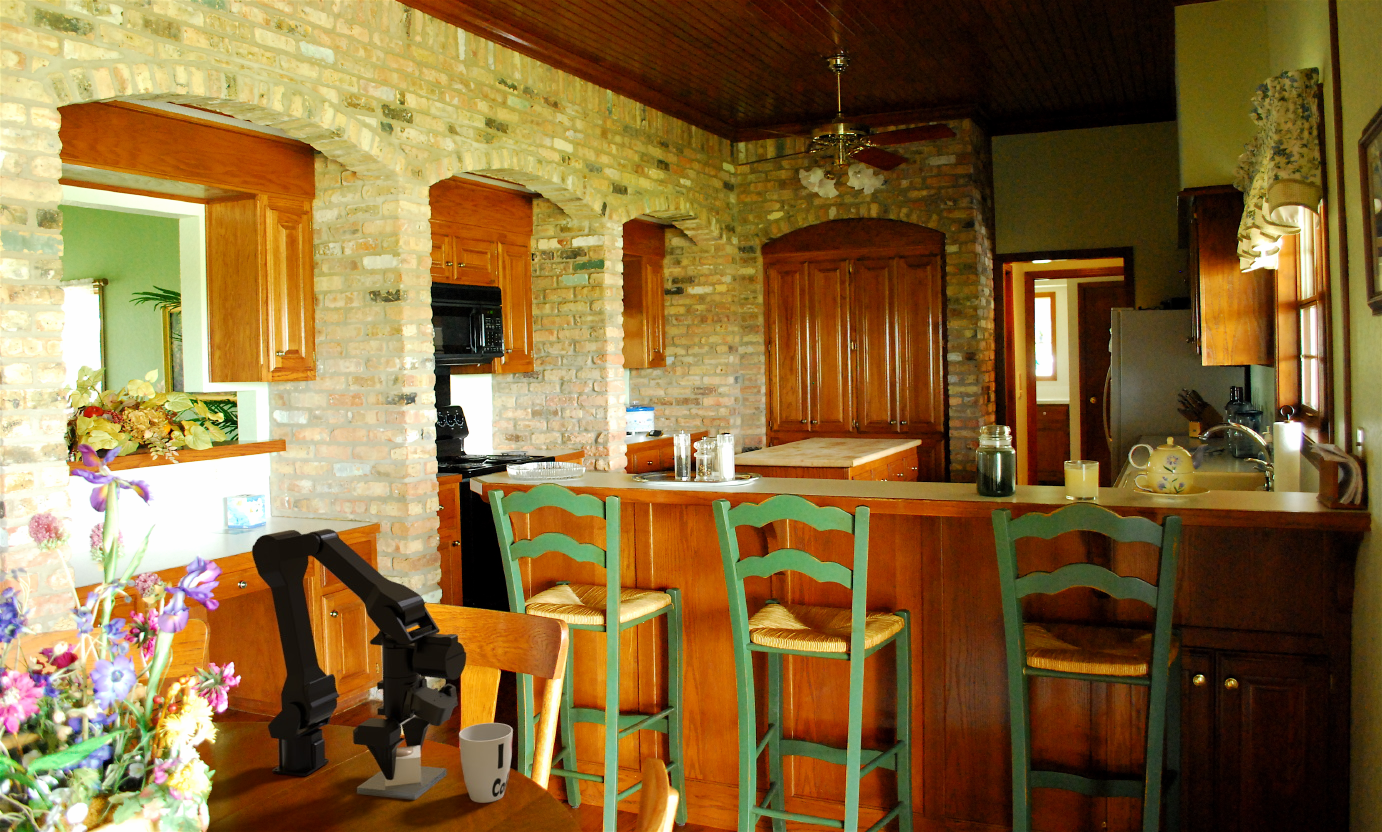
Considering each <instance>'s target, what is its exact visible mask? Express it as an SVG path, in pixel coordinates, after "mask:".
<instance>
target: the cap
mask: <svg viewBox="0 0 1382 832" xmlns="http://www.w3.org/2000/svg"><path fill="white" fill-rule="evenodd" d="M421 753H422V750H421V751H420V745H417V746H408V747H407V746H401V747H400V746H398V747H397V753H396V764H395V773H394V779H393V780H387V779H386V778H385V786H393V785H402V784H411V783H420V782H421V766H422V761H421V757H422V754H421Z"/></svg>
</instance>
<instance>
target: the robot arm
mask: <svg viewBox="0 0 1382 832" xmlns="http://www.w3.org/2000/svg"><path fill="white" fill-rule="evenodd" d="M251 548H252V549H251V555H252V559H253V563H254V565H255V568H256V571H257V573H258V576H259V577H260V578H261V579H262V580H263V581H264V583H265V584H266V585H267V586H268V587H269V588H270V590H271V595H272V601H273V606H274V611H275V616H276V621H277V627H278V628H277V629H278V632H279V638H280V643H281V649H282V654H283V659H284V666H285V670H286V677H285V680H284V683H283V685H282V686H283V687H282V689H281V693H280V701H281V702H280V703H281V704H280V705H281V710H280V712H279V713H277V714H276V716H275V717H274V718H273V719H272V721H270V722H269V724H268V725H267V728H268V732H269V735H270V737H271V738H272V739H276V740H277V742H278V766H276V767H275V768H273V769H272V773H273V774H279V775H280V774H282V775H291V776H300V777H307V776H308V775H310V774H312V773H314V772H315V771H317V770H318V769H320V768H322V767H323V766H325V765H326V764H328V763H329V762H330V760H329V758H326V744H325V743H326V742H325V741H326V740H325V738H324V737H323V735H324V734H323V728H322V727H325V726H328V725H329V724H330V722H331V719H332V715H333V714H334V712H335V710H336V709H337V707H338V698H340V694H339V692H338V689H337V686H336V676H335V675H334V674H333V673H330V674H328V675H327V674H326V673H325V671H324V670H323V669H322V667H320V665H319V661H318V657H317V652H316V651H317V649H316V646H315V639H314V635H313V630H312V629H313V628H312V624H311V618H310V614H309V607H308V602H307V598H306V593H305V592H306V591H305V587H304V586H305V585H304V579H305V575H306V573H307V569H308V567H309V557H313V558H314V559H315V560H317V561H318V562H319V564H321V565H322V566H323V567H324V568H325V569H327V570H328V571H329V572H330V573H331V574H332V575H333V576H334V577H336V578H337V579H338V580H339V581H340V582H341V583H342V584H343V585H345V587H347V588H348V589H349V590H350V591H351V592H352V593H354V595H356V596H357V597H358V598H359V600H361V601H362V603H363V604H364V607H365V612H366V614H367V616H368V617H369V619H370V620H371V621H372V623H373V624H374V625H375V626H376V628H377V629H378V630H379V631H378V633H377V634H376V635H375V636H374V637H373V638H372V639H370V640H369V644H370V645H373V646H380V647H381V650H382V652H381V653H382V654H381V655H382V656H381V657H382V659H381V663H382V664H381V665H382V667H381V669H382V679H381V680H379V681H378V682H377V683H376V689H377V690H382V705H381V706H379V707H377V715H378V716H384V718H375V717H369V718H368V719H366V720H365V721H363V722H362V723H360V724H358V725H357V726H356V727H355V728H354V729H353V731H352V735H353V736H352V740H353V741H352V743H353V744H354V745H356V746H357V745H359V746H366V748H367V749H368V750H369V752H370V754H371V755H372V757H373V758H374V760H375V762H376V763H377V765H378V767H379V769H380V771H382V772H383V774H384V776H385V778H386V779H387V780H393V779H394V773H395V764H396V753H397V748H398V747H400V745H401V743H403V742H404V741H405V744H406V747H408V746H417V745H420V751H421V752H422V750H423V749H422V748H423V746H424V741H425V738H426V735H427V732H428V730H429V729H428V728H429V727H430V726H434V727H439V726H442V725H443V724H444V722H446V721H449V720H450V719H451V715H452V713H453V710H454V708H456V707H457V706H458V705H459V702H458V701H457V700H458V697H457V687H456V686H455V685H453V684H451V683H446V684H445V685H443V686H442V687H441V688H440V689H439V687H434V688H430V687H428V680H427V678H432V679H433V678H434V679H443V680H451V681H453V680H458V679H459V677H461V675H462V674H463V673H464V671H465V667H466V662H467V652H466V651H465V648H464V645H463V644H462V643H461V642H459V635H458V634H455V633H449V634H443V633H440V628H439V626H438V625H437V624H436V621H435V620H434V618H433V617H432V615H431V614H430V612H429V611H428V609H427V607H426V606H425V605H426V601H425V600H424V598H423V596H422V595H420V594H419V592H416V591H414V590H413V589H411V588H410V587H408V586H406V585H404V584H401V583H398V582H395V581H392V580H390V579H388V578H387V577H385V576H383V575H382V573H380V572H379V571H378V570H377V569H375V568H374V567H373V566H372V565H371V564H370V563H369V562H367V561H366V560H365V559H364V558H363V557H362V556H361V555H359V554H358V553H357V552H356V551H355V550H354V549H352V548H351V547H350V546H349V545H348V544H347V543H346V542H344V540H343V539H341V538H340V536H339V534H338V532H337V531H335V530H333V529H331V528H325V529H319V530H313V531H309V532H308V533H301V532H299V531H298V530H296V529H289V530H283V531H279V532H273V533H269V534H262V535H261V536H259V537H258V538H257V539H256V541H255V542H254V544H253V545H252V547H251ZM414 627H417V628H415V629H412V628H414ZM410 629H412V630H410ZM408 630H410V631H408ZM426 677H427V678H426ZM402 733H403V736H404V737H401V735H402Z"/></svg>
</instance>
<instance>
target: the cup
mask: <svg viewBox="0 0 1382 832" xmlns="http://www.w3.org/2000/svg"><path fill="white" fill-rule="evenodd" d="M513 731H514V729H513V727H511V726H510V725H508V724H505V723H499V722H485V723H477V724H473V725H470V726H467V727H465V728H463V729H461V730H460V731H459V733H458V738H459V750H460V762H461V768H462V772H463V779H464V782H465V783H464V784H465V787H466V789H467V792H468V795H469V798H470V799H471V801H472V802H475V803H484V804H485V803H493V802H496V801H499V800H500V799H502V798H503V797H504V794H505V792H506V789H507V784H508V781H509V777H510V776H509V775H510V770H511V763H512V755H513V754H512V753H513V734H514V733H513Z"/></svg>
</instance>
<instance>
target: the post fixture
mask: <svg viewBox="0 0 1382 832" xmlns="http://www.w3.org/2000/svg"><path fill="white" fill-rule="evenodd" d="M447 775H448V774H447V768H445V767H444V768H443V767H434V766H433V767H431V766H423V765H421V782H420V783H411V784H402V785H393V786H385V776H384V774H383V772H382V771H381V770H380V771H378V772H377V773H376V774H374V775H372V777H370V778H368V779H367V780H366V781H365V782H362V783H361V784H360V785H359V786H357V787H356V794H357V795H366V796H372V797H373V796H375V797H383V798H393V799H400V800H401V799H402V800H403V799H404V800H411V801H416V800H417V799H418V798H420V797H421V796H422V795H423V794H424V793H426V792H427V791H428V790H430V789H431V788H432V787H433V786H435V785H436V784H437V783H438V782H440V781H441V780H442V779H443V778H445V777H446V776H447Z"/></svg>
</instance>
